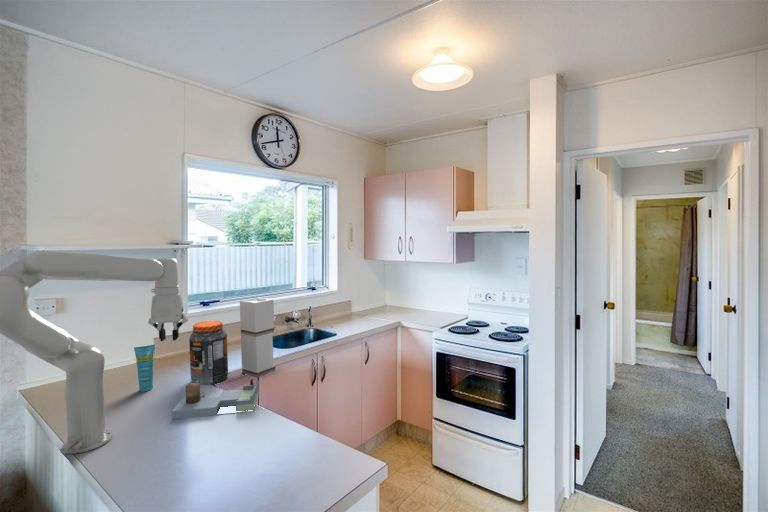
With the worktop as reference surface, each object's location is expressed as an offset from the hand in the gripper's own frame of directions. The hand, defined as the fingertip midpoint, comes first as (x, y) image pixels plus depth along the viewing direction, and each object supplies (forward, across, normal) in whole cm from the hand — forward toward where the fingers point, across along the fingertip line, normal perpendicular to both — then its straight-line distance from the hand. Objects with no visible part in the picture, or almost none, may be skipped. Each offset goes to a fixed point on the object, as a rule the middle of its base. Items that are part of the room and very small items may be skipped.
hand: (169, 339), depth 141 cm
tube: (+27, -18, +24) cm, 41 cm away
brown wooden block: (+24, +8, 0) cm, 25 cm away
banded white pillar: (+27, +26, +36) cm, 52 cm away
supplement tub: (+27, +6, +31) cm, 42 cm away
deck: (+27, +16, 0) cm, 32 cm away
